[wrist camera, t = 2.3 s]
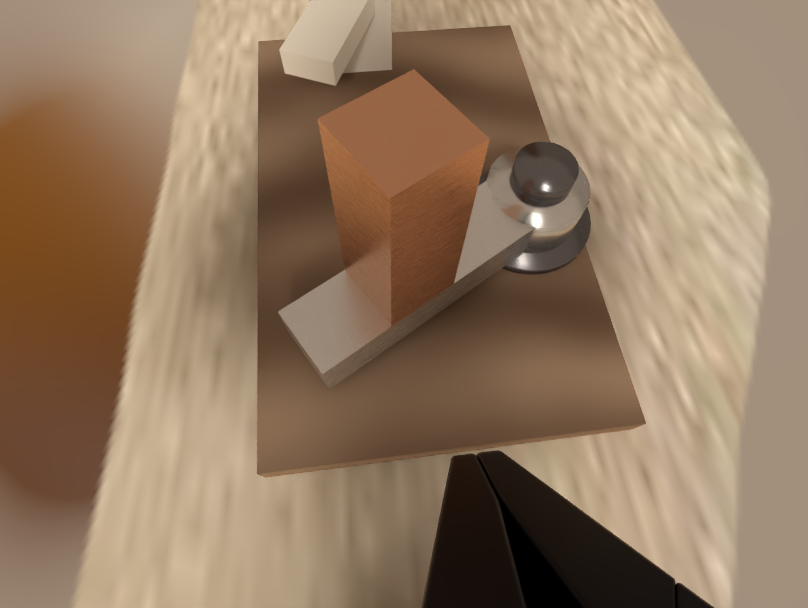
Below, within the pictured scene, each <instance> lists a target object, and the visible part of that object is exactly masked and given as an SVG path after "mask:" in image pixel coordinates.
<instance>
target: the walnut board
mask: <svg viewBox="0 0 808 608" xmlns="http://www.w3.org/2000/svg"><path fill="white" fill-rule="evenodd" d="M284 41H285V40H273V41H259V54H258V421H257V474H259V475H261V476H263V477H271V476H279V475H287V474H294V473H302V472H309V471H317V470H325V469H332V468H340V467H348V466H355V465H363V464H371V463H378V462H386V461H393V460H401V459H409V458H416V457H424V456H432V455H439V454H447V453H455V452H462V451H470V450H477V449H485V448H493V447H500V446H508V445H516V444H523V443H531V442H539V441H546V440H554V439H561V438H569V437H577V436H584V435H592V434H600V433H607V432H615V431H623V430H630V429H634V428H636V427H639V426H641V425H643V424H646V422H645V419H644V416H643V413H642V410H641V407H640V404H639V401H638V398H637V395H636V392H635V390H634V387H633V384H632V381H631V378H630V375H629V372H628V369H627V366H626V363H625V360H624V357H623V354H622V351H621V349H620V346H619V343H618V340H617V337H616V334H615V331H614V328H613V325H612V322H611V319H610V316H609V313H608V310H607V308H606V305H605V302H604V299H603V296H602V293H601V290H600V287H599V284H598V281H597V278H596V275H595V272H594V269H593V267H592V264H591V261H590V258H589V255H588V252H587V249H586V246H585V245H584V247H583V249H582V250H581V252H580V253H579V254H578V256H577V257H576V258H575V259H574V260H573V261H571V262H570V263H569V264H567V265H566V266H564V267H562V268H560V269H558V270H556V271H552V272H549V273H544V274H533V275H530V274H520V273H515V272H511V271H508V270H505V269H500V270H499V271H497V272H496V273H494V274H493V275H492V276H490V277H489V278H487V279H486V280H484V281H483V282H482V283H480V284H479V285H477V286H476V287H475V288H473V289H472V290H470V291H469V292H467V293H466V294H465V295H463V296H462V297H460V298H459V299H457V300H456V301H455V302H453V303H452V304H450V305H449V306H447V307H446V308H445V309H443V310H442V311H440V312H439V313H438V314H436V315H435V316H433V317H432V318H430V319H429V320H428V321H426V322H425V323H423V324H422V325H420V326H419V327H418V328H416V329H415V330H413V331H412V332H411V333H409V334H408V335H406V336H405V337H403V338H402V339H401V340H399V341H398V342H396V343H395V344H393V345H392V346H391V347H389V348H388V349H386V350H385V351H383V352H382V353H381V354H379V355H378V356H376V357H375V358H374V359H372V360H371V361H369V362H368V363H366V364H365V365H364V366H362V367H361V368H359V369H358V370H356V371H355V372H354V373H352V374H351V375H349V376H348V377H347V378H345V379H344V380H342V381H341V382H339V383H338V384H337V385H335V386H334V387H332V388H331V389H328V387H327V386H326V385H325V383H324V382H323V380H322V379H321V378H320V376H319V375H318V373H317V372H316V370H315V369H314V368H313V366H312V365H311V363H310V362H309V361H308V359H307V358H306V356H305V355H304V353H303V352H302V351H301V349H300V348H299V346H298V345H297V344H296V342H295V341H294V339H293V338H292V337H291V335H290V334H289V332H288V330H287V329H286V327H285V325H284V323H283V321H282V319H281V317H280V315H279V313H278V311H280V310H281V309H283V308H285V307H286V306H288V305H289V304H291V303H293V302H294V301H296V300H297V299H299V298H300V297H302V296H304V295H305V294H307V293H308V292H310V291H312V290H313V289H315V288H316V287H318V286H320V285H321V284H323V283H324V282H326V281H328V280H329V279H331V278H332V277H334V276H336V275H337V274H339V273H340V272H342V271H344V270H345V267H344V262H343V256H342V251H341V245H340V239H339V234H338V228H337V223H336V217H335V212H334V206H333V201H332V195H331V190H330V184H329V179H328V173H327V168H326V162H325V157H324V151H323V146H322V140H321V135H320V129H319V124H318V118H319V117H321V116H323V115H325V114H327V113H329V112H331V111H333V110H335V109H337V108H339V107H341V106H343V105H345V104H347V103H349V102H351V101H353V100H355V99H357V98H359V97H361V96H362V95H364V94H366V93H368V92H370V91H372V90H374V89H376V88H378V87H380V86H382V85H384V84H386V83H388V82H390V81H392V80H394V79H396V78H398V77H400V76H402V75H404V74H405V73H407V72H409V71H411V70H413V69H414V70H415V71H417V72H418V73H419V74H420V75H421V76H422V77H423V78H424V79H425V80H426V81H427V82H429V83H430V84H431V85H432V86H433V87H434V88H435V89H436V90H437V91H438V92H439V93H441V94H442V95H443V96H444V97H445V98H446V99H447V100H448V101H449V102H450V103H451V104H453V105H454V106H455V107H456V108H457V109H458V110H459V111H460V112H461V113H462V114H464V115H465V116H466V117H467V118H468V119H469V120H470V121H471V122H472V123H473V124H474V125H476V126H477V127H478V128H479V129H480V130H481V131H482V132H483V133H484V134H485V135H486V136H488V137H489V138H490V140H489V144H488V148H487V152H486V156H485V160H484V164H483V168H482V172H481V176H482V175H483V174H485V173H486V172H488V171H489V170H490V168H491V166H492V164H493V163H494V162H495V160H496V159H497V158H498V157H499V156H501V155H502V154H504V153H505V152H507V151H509V150H512V149H515V148H519V147H524V146H526V145H528V144H530V143H534V142H550V141H549V138H548V135H547V132H546V129H545V126H544V123H543V120H542V117H541V114H540V111H539V108H538V105H537V103H536V100H535V97H534V94H533V91H532V88H531V85H530V82H529V79H528V76H527V73H526V70H525V67H524V64H523V62H522V59H521V56H520V53H519V50H518V47H517V44H516V41H515V38H514V35H513V32H512V29H511V26H510V25H508V26H492V27H477V28H461V29H445V30H430V31H414V32H398V33H392V70H382V71H367V72H353V73H342V75H341V77H340V79H339V81H338V83H337V84H336V86H334V85H330V84H326V83H322V82H318V81H314V80H310V79H306V78H302V77H298V76H294V75H290V74H286V73H285V72H284V68H283V64H282V59H281V55H280V51H279V49H280V48H281V46H282V44H283V43H284Z"/></svg>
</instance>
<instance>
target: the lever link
mask: <svg viewBox="0 0 808 608" xmlns="http://www.w3.org/2000/svg"><path fill="white" fill-rule="evenodd" d="M318 124H319V129H320V135H321V140H322V146H323V151H324V157H325V162H326V168H327V173H328V179H329V184H330V190H331V195H332V201H333V206H334V212H335V217H336V223H337V228H338V234H339V239H340V245H341V251H342V256H343V262H344V267H345V270H344V271H342V272H340V273H339V274H337V275H336V276H334V277H332V278H331V279H329V280H328V281H326V282H324V283H323V284H321V285H320V286H318V287H316V288H315V289H313V290H312V291H310V292H308V293H307V294H305V295H304V296H302V297H300V298H299V299H297V300H296V301H294V302H293V303H291V304H289V305H288V306H286V307H285V308H283V309H281V310H280V311H278V313H279V315H280V317H281V319H282V321H283V323H284V325H285V327H286V329H287V330H288V332H289V334H290V335H291V337H292V338H293V339H294V341H295V342H296V344H297V345H298V346H299V348H300V349H301V351H302V352H303V353H304V355H305V356H306V358H307V359H308V361H309V362H310V363H311V365H312V366H313V368H314V369H315V370H316V372H317V373H318V375H319V376H320V378H321V379H322V380H323V382H324V383H325V385H326V386H327V387H328V389H331V388H332V387H334V386H335V385H337V384H338V383H339V382H341V381H342V380H344V379H345V378H347V377H348V376H349V375H351V374H352V373H354V372H355V371H356V370H358V369H359V368H361V367H362V366H364V365H365V364H366V363H368V362H369V361H371V360H372V359H374V358H375V357H376V356H378V355H379V354H381V353H382V352H383V351H385V350H386V349H388V348H389V347H391V346H392V345H393V344H395V343H396V342H398V341H399V340H401V339H402V338H403V337H405V336H406V335H408V334H409V333H411V332H412V331H413V330H415V329H416V328H418V327H419V326H420V325H422V324H423V323H425V322H426V321H428V320H429V319H430V318H432V317H433V316H435V315H436V314H438V313H439V312H440V311H442V310H443V309H445V308H446V307H447V306H449V305H450V304H452V303H453V302H455V301H456V300H457V299H459V298H460V297H462V296H463V295H465V294H466V293H467V292H469V291H470V290H472V289H473V288H475V287H476V286H477V285H479V284H480V283H482V282H483V281H484V280H486V279H487V278H489V277H490V276H492V275H493V274H494V273H496V272H497V271H499V270H500V269H502V268H503V267H504V266H506V265H507V264H509V263H510V262H511V261H513V260H514V259H516V258H517V257H519V256H520V255H521V254H523V253H543V252H547V251H550V250H553V249H555V248H557V247H558V246H560V245H561V244H563V243H564V242H565V241H566V240H567V238H568V237H569V236H570V234H571V232H572V231H573V229H574V227H575V226H576V224H577V222H578V221H579V219H580V217H581V216H582V214H583V212H584V211H585V209H586V207H587V205H588V203H589V199H590V186H589V182H588V180H587V177H586V175H585V174H584V172H583V170H582V169H581V168H580V167H579V174H578V177H577V179H576V181H575V183H574V185H573V187H572V189H571V191H570V193H569V195H568V196H567V198H566V199H565V200H564V201H562V202H561V203H559V204H557V205H554V206H549V207H539V206H534V205H531V204H528V203H526V202H524V201H523V200H521V199H520V198H519V197H518V196H517V195H516V194H515V193H514V192H513V190H512V188H511V186H510V181H509V177H510V173H511V170H512V167H513V164H514V161H515V158H516V155H517V153H518V152H519V150H520V149H521V148H523V147H519V148H515V149H512V150H509V151H507V152H505V153H504V154H502V155H501V156H499V157H498V158H497V159H496V160H495V162H494V163H493V164H492V166H491V168H490V170H489V173H488V177H487V181H485V182H484V183H482V184H481V185H479V181H480V176H481V172H482V168H483V164H484V160H485V156H486V152H487V148H488V144H489V140H490V138H489V137H488V136H486V135H485V134H484V133H483V132H482V131H481V130H480V129H479V128H478V127H477V126H476V125H474V124H473V123H472V122H471V121H470V120H469V119H468V118H467V117H466V116H465V115H464V114H462V113H461V112H460V111H459V110H458V109H457V108H456V107H455V106H454V105H453V104H451V103H450V102H449V101H448V100H447V99H446V98H445V97H444V96H443V95H442V94H441V93H439V92H438V91H437V90H436V89H435V88H434V87H433V86H432V85H431V84H430V83H429V82H427V81H426V80H425V79H424V78H423V77H422V76H421V75H420V74H419V73H418V72H417V71H415V70H414V69H413V70H411V71H409V72H407V73H405V74H404V75H402V76H400V77H398V78H396V79H394V80H392V81H390V82H388V83H386V84H384V85H382V86H380V87H378V88H376V89H374V90H372V91H370V92H368V93H366V94H364V95H362V96H361V97H359V98H357V99H355V100H353V101H351V102H349V103H347V104H345V105H343V106H341V107H339V108H337V109H335V110H333V111H331V112H329V113H327V114H325V115H323V116H321V117H319V118H318ZM478 185H479V186H478Z"/></svg>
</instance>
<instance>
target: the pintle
mask: <svg viewBox="0 0 808 608" xmlns="http://www.w3.org/2000/svg"><path fill="white" fill-rule="evenodd" d="M488 173H489V171H488V172H486V173H485V174H483V175H482V176H480V181H479V185H481V184H482V183H484V182H485V181H487V177H488ZM578 174H579V166H578V163H577V161H576V159H575V157H574V156H573V155H572V154H571V153H570V152H569V151H568V150H567V149H565V148H564V147H562V146H560V145H558V144H555V143H551V142H534V143H530V144H528V145H526V146H524V147H523V148H521V149H520V150H519V152H518V153H517V155H516V158H515V161H514V164H513V167H512V170H511V173H510V177H509V181H510V186H511V188H512V190H513V192H514V193H515V194H516V195H517V196H518V197H519V198H520V199H521V200H523V201H524V202H526V203H528V204H531V205H534V206H539V207H549V206H554V205H557V204H559V203H561V202H562V201H564V200H565V199H566V198H567V196H568V195H569V193H570V191H571V189H572V187H573V185H574V183H575V181H576V179H577V177H578ZM479 185H478V186H479ZM590 224H591V222H590V214H589V211H588V208H587V207H586V209H585V211H584V212H583V214H582V216H581V217H580V219H579V221H578V222H577V224H576V226H575V227H574V229H573V231H572V232H571V234H570V236H569V237H568V238H567V240H566V241H565V242H564V243H563V244H561V245H560V246H558V247H557V248H555V249H553V250H550V251H547V252H543V253H523V254H521V255H520V256H519V257H517V258H516V259H514V260H513V261H511V262H510V263H509V264H507V265H506V266H504V267H503V268H502V269H505V270H508V271H511V272H515V273H520V274H530V275H533V274H544V273H549V272H552V271H556V270H558V269H560V268H562V267H564V266H566V265H567V264H569V263H570V262H571V261H573V260H574V259H575V258H576V257H577V256H578V254H579V253H580V252H581V250H582V249H583V247H584V245H585V244H586V242H587V239H588V237H589V233H590Z"/></svg>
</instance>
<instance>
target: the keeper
mask: <svg viewBox="0 0 808 608" xmlns="http://www.w3.org/2000/svg"><path fill="white" fill-rule="evenodd" d="M279 51H280V55H281V59H282V64H283V68H284V72H285V73H286V74H290V75H294V76H298V77H302V78H306V79H310V80H314V81H318V82H322V83H326V84H330V85H334V86H336V84H337V83H338V81H339V79H340V77H341V75H342V73H353V72H367V71H382V70H392V0H311V1H310V3H309V4H308V6H307V7H306V9H305V11H304V12H303V14H302V15H301V17H300V18H299V20H298V21H297V23H296V24H295V26H294V27H293V29H292V31H291V32H290V34H289V35H288V37H287V38H286V40H285V41H284V43H283V44H282V46H281V48H280V49H279Z"/></svg>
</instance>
